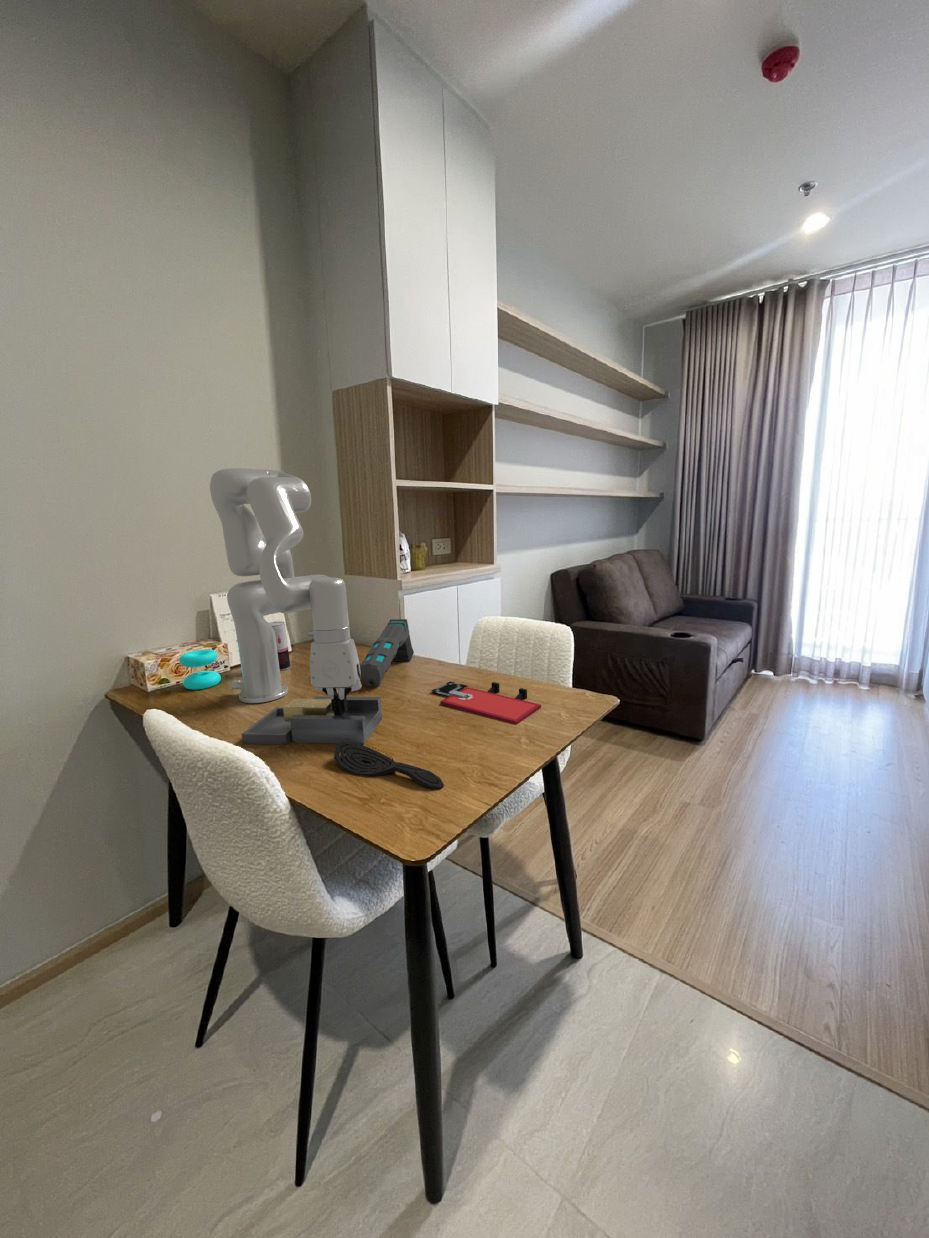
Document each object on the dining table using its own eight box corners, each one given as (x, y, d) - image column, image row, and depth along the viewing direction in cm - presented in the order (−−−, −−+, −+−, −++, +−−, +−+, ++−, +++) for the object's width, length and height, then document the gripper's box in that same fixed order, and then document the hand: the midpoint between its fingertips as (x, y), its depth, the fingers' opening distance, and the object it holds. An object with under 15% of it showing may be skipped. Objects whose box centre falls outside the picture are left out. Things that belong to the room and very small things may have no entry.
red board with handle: (454, 682, 140) (418, 700, 129) (453, 673, 139) (417, 690, 128) (548, 704, 122) (517, 727, 111) (548, 694, 122) (516, 716, 110)
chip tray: (243, 743, 107) (241, 734, 106) (277, 715, 121) (276, 707, 121) (286, 744, 105) (285, 734, 105) (315, 716, 120) (314, 707, 119)
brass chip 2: (305, 722, 109) (304, 707, 108) (315, 713, 114) (313, 699, 113) (327, 722, 108) (325, 707, 108) (335, 713, 113) (334, 699, 112)
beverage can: (290, 664, 164) (284, 620, 161) (290, 669, 158) (285, 624, 155) (269, 667, 162) (263, 622, 159) (269, 672, 156) (263, 626, 153)
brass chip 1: (284, 721, 110) (282, 707, 109) (295, 712, 115) (293, 698, 114) (306, 721, 109) (304, 707, 108) (315, 712, 114) (313, 698, 113)
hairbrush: (428, 787, 82) (323, 748, 95) (428, 806, 83) (324, 765, 96) (455, 765, 89) (353, 731, 102) (455, 783, 90) (354, 747, 103)
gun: (415, 651, 167) (408, 613, 159) (388, 709, 142) (378, 666, 135) (397, 651, 168) (389, 613, 161) (367, 708, 144) (356, 666, 136)
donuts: (223, 650, 146) (189, 659, 138) (228, 682, 148) (194, 693, 140) (205, 646, 151) (171, 655, 143) (210, 677, 153) (177, 687, 145)
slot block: (292, 742, 106) (290, 718, 105) (318, 717, 119) (315, 696, 117) (364, 744, 104) (362, 719, 103) (382, 718, 116) (380, 696, 115)
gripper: (291, 639, 104) (301, 720, 108) (359, 638, 102) (367, 721, 106) (307, 631, 111) (315, 707, 115) (371, 630, 109) (377, 708, 113)
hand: (340, 714), depth 110 cm, fingers closed
